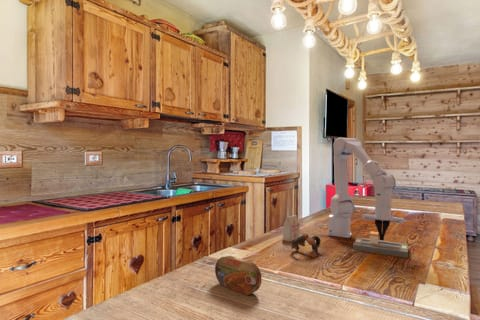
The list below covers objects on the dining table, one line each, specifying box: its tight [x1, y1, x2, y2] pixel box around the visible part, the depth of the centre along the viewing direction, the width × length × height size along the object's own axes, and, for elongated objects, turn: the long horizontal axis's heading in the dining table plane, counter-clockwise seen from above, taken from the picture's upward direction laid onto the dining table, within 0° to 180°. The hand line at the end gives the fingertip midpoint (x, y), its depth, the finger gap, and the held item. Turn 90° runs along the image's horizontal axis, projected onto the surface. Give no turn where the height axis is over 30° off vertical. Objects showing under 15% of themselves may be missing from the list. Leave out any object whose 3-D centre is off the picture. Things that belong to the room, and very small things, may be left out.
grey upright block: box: [282, 214, 301, 243], centre depth 140 cm, size 4×7×10 cm, turn 135°
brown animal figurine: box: [290, 233, 321, 259], centre depth 122 cm, size 12×10×8 cm
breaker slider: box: [369, 230, 380, 244], centre depth 129 cm, size 3×4×4 cm
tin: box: [214, 255, 262, 296], centre depth 90 cm, size 15×3×8 cm, turn 50°
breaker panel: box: [352, 236, 409, 259], centre depth 128 cm, size 19×12×3 cm, turn 64°
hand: (381, 239), depth 128 cm, fingers closed
